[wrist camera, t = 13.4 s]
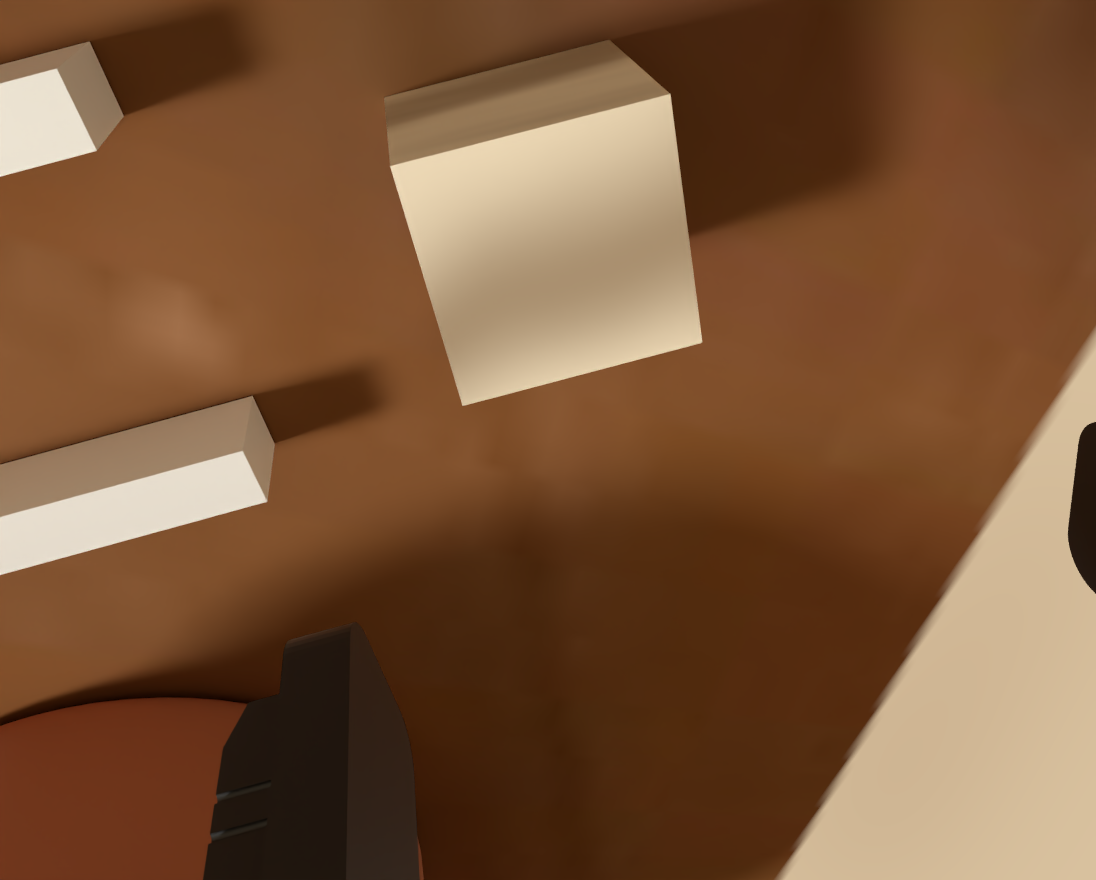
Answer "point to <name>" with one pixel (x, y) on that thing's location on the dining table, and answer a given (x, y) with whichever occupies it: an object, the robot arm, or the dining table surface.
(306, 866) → the robot arm
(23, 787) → the potted cactus
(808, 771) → the dining table surface
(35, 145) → the rail channel
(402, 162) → the block
